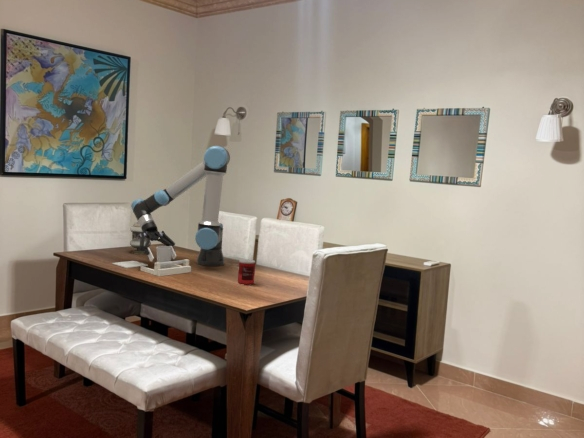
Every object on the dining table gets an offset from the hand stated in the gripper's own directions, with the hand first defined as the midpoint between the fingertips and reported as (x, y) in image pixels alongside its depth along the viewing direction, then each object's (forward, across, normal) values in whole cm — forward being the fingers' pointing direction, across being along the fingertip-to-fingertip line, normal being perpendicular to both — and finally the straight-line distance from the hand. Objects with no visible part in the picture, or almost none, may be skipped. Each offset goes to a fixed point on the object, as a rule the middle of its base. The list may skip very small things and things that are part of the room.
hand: (163, 258), depth 272 cm
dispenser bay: (+6, 0, -3) cm, 6 cm away
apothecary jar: (-31, -19, -40) cm, 54 cm away
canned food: (+35, -16, +26) cm, 47 cm away
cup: (+4, 0, -5) cm, 7 cm away
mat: (-11, +6, -20) cm, 23 cm away
